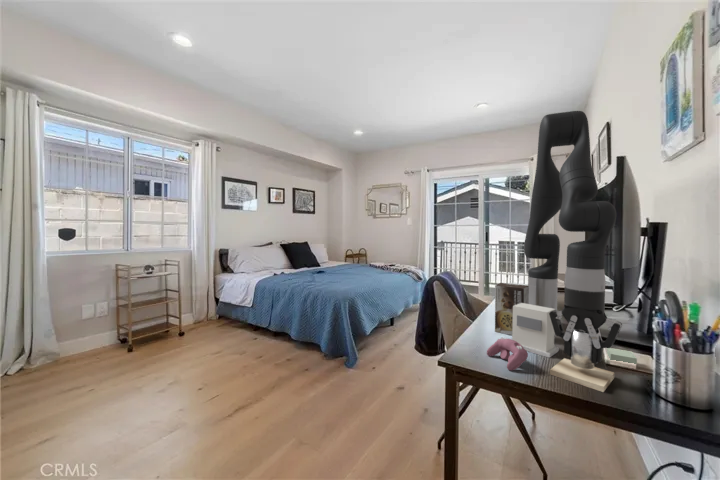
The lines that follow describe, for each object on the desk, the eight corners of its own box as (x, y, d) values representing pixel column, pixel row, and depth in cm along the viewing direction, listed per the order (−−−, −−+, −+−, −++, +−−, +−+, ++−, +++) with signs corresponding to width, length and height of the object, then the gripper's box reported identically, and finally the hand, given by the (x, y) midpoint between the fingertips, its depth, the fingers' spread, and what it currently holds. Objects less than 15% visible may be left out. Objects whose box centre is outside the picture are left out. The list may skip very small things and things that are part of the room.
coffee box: (528, 333, 99) (529, 285, 98) (523, 338, 94) (524, 288, 93) (499, 327, 105) (500, 282, 104) (493, 331, 100) (494, 284, 100)
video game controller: (522, 377, 72) (534, 350, 72) (507, 370, 71) (520, 343, 72) (497, 359, 82) (507, 336, 82) (483, 353, 81) (494, 330, 81)
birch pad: (564, 362, 76) (564, 358, 76) (614, 377, 69) (614, 372, 69) (550, 374, 70) (550, 369, 70) (603, 392, 62) (603, 386, 62)
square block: (606, 358, 80) (607, 347, 80) (631, 362, 77) (631, 351, 77) (610, 365, 76) (610, 353, 75) (636, 370, 73) (636, 358, 73)
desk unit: (518, 339, 92) (519, 301, 92) (558, 351, 84) (559, 309, 84) (507, 345, 88) (508, 305, 88) (549, 357, 79) (550, 313, 79)
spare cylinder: (573, 358, 72) (574, 326, 72) (596, 365, 69) (597, 331, 69) (568, 364, 70) (568, 330, 69) (591, 370, 66) (592, 335, 66)
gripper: (628, 289, 66) (625, 365, 66) (554, 281, 77) (553, 346, 77) (621, 294, 61) (618, 375, 61) (544, 284, 72) (542, 353, 72)
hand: (582, 358), depth 69 cm, fingers closed on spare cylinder, 4 cm apart
